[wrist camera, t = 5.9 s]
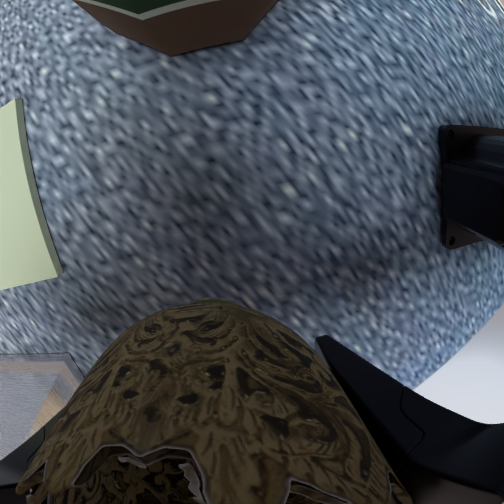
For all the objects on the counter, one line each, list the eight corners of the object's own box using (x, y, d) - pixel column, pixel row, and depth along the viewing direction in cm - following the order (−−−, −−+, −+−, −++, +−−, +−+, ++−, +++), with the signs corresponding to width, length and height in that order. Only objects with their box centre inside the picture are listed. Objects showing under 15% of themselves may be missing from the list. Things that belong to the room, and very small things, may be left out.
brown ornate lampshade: (150, 399, 12) (123, 557, 4) (92, 250, 9) (-60, 436, 1) (313, 384, 12) (364, 547, 4) (315, 222, 9) (499, 435, 2)
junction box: (69, 353, 14) (4, 485, 5) (105, 407, 16) (71, 527, 7) (-14, 353, 14) (-70, 437, 5) (18, 399, 16) (-22, 482, 7)
